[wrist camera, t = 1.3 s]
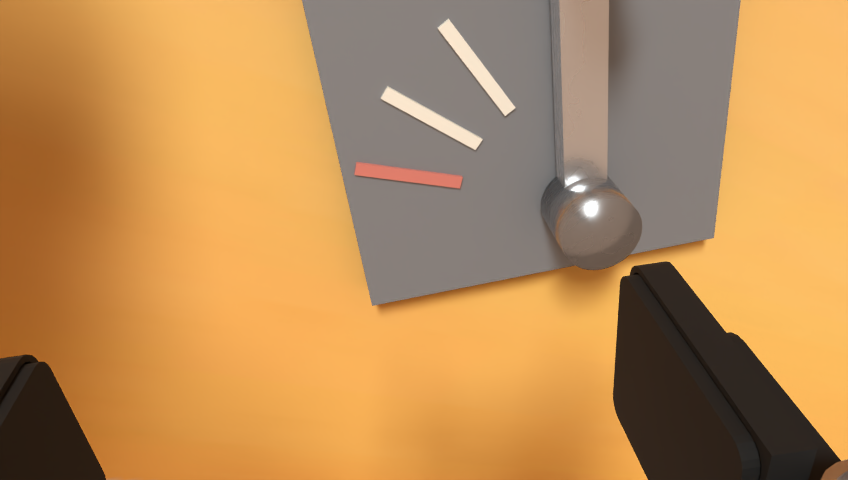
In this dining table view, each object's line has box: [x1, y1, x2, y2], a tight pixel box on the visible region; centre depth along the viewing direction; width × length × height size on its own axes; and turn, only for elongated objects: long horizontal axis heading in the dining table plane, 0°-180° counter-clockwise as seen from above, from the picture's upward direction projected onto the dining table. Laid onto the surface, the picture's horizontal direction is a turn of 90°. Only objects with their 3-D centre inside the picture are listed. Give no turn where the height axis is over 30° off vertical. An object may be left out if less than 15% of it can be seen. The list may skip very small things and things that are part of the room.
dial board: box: [302, 0, 740, 306], centre depth 36 cm, size 23×22×2 cm
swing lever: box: [541, 0, 642, 270], centre depth 32 cm, size 20×4×8 cm, turn 8°
